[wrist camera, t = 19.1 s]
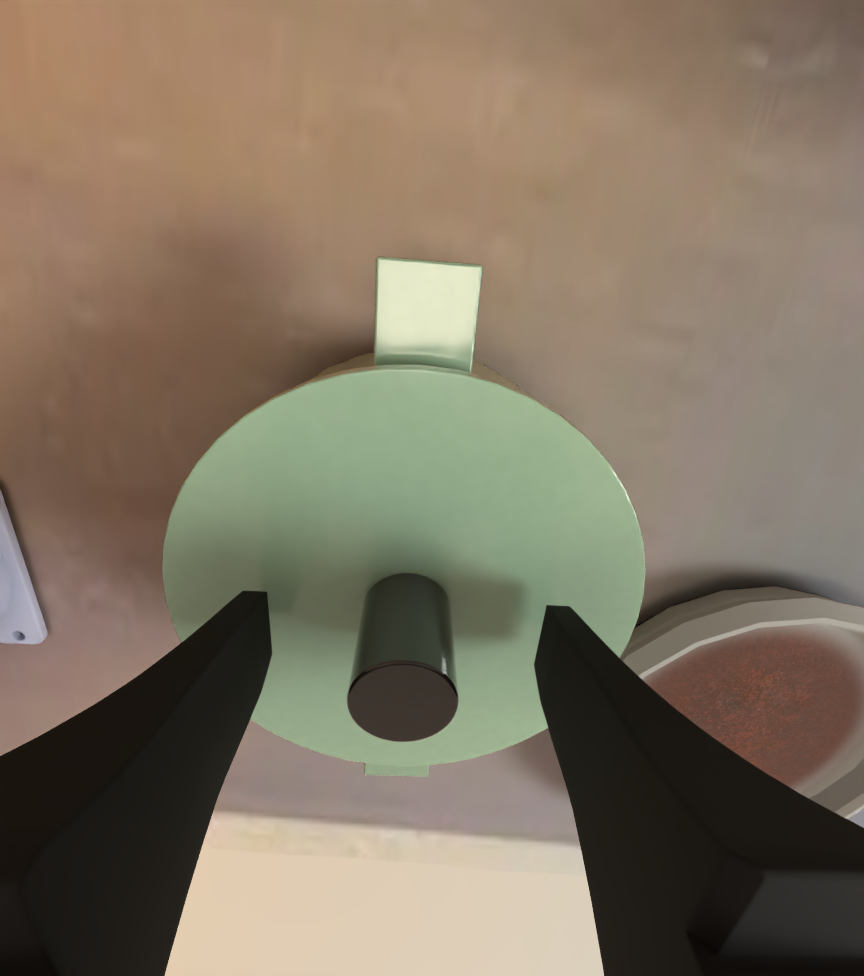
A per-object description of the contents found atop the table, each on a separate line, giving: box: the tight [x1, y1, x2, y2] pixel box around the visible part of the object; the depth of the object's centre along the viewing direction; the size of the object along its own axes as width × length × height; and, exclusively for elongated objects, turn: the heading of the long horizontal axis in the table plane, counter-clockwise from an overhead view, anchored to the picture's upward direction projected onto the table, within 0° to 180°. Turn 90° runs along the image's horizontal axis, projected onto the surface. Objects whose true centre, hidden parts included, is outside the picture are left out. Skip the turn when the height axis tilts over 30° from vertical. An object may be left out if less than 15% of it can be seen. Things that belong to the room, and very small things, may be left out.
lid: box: [162, 365, 646, 766], centre depth 12 cm, size 13×13×4 cm
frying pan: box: [620, 586, 864, 819], centre depth 24 cm, size 17×3×28 cm
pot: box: [315, 256, 523, 777], centre depth 16 cm, size 12×17×6 cm
